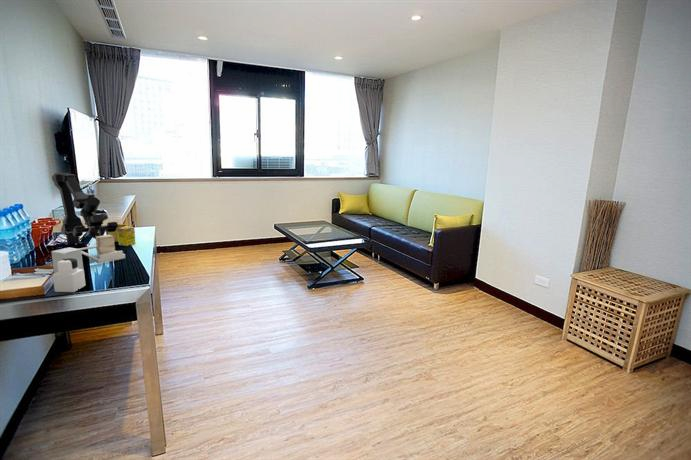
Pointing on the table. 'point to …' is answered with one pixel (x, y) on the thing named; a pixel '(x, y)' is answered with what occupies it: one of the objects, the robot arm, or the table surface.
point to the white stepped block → (68, 276)
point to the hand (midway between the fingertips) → (102, 242)
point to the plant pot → (116, 232)
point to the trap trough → (105, 255)
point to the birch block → (105, 244)
